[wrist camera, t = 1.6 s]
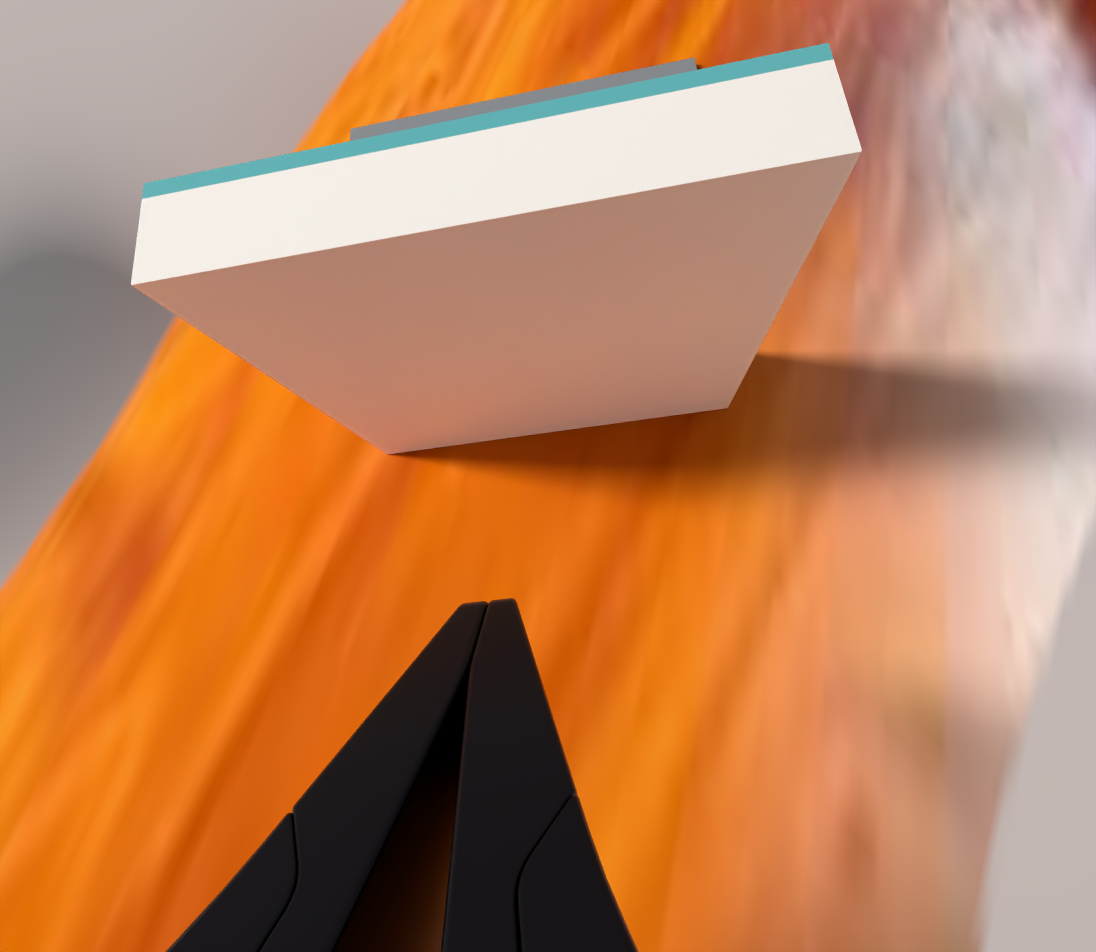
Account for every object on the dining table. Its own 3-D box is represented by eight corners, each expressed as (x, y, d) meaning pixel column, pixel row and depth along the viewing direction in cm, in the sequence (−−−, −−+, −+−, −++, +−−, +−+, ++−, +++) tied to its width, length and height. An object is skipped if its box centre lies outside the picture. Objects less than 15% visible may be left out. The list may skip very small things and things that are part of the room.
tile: (727, 408, 21) (862, 151, 9) (387, 454, 22) (130, 285, 11) (716, 350, 21) (828, 42, 10) (386, 399, 23) (143, 183, 11)
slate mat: (751, 326, 21) (752, 322, 21) (352, 387, 23) (349, 384, 23) (693, 64, 25) (694, 57, 25) (353, 134, 27) (350, 128, 26)
